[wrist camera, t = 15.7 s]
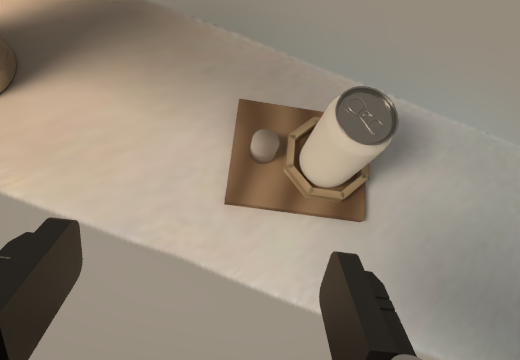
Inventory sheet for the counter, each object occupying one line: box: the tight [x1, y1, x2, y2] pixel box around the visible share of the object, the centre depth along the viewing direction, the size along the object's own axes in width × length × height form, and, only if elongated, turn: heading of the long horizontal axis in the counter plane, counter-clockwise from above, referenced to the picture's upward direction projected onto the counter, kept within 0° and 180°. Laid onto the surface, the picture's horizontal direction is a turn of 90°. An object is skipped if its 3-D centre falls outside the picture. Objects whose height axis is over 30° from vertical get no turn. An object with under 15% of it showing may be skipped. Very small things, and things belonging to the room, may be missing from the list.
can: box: [299, 86, 398, 188], centre depth 35 cm, size 6×6×12 cm
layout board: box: [225, 99, 369, 222], centre depth 40 cm, size 16×13×4 cm
